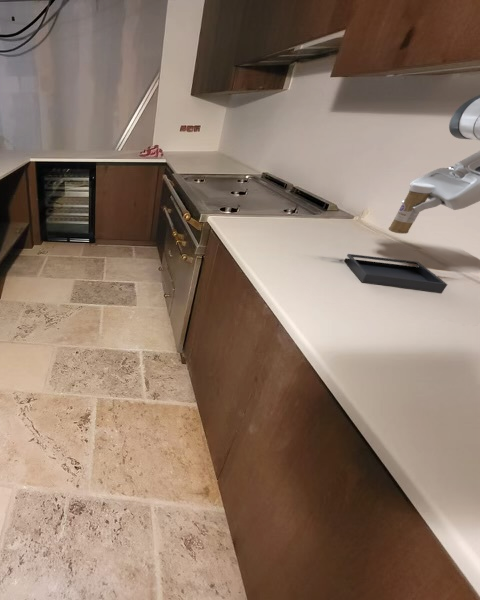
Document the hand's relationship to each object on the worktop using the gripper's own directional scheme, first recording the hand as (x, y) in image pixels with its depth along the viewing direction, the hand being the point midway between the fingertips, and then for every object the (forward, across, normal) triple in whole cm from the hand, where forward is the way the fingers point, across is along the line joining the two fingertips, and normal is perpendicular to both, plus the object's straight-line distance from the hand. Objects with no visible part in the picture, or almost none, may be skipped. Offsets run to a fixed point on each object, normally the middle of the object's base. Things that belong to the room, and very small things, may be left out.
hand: (408, 207), depth 91 cm
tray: (+13, +12, +9) cm, 21 cm away
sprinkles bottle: (+5, 0, +6) cm, 7 cm away
